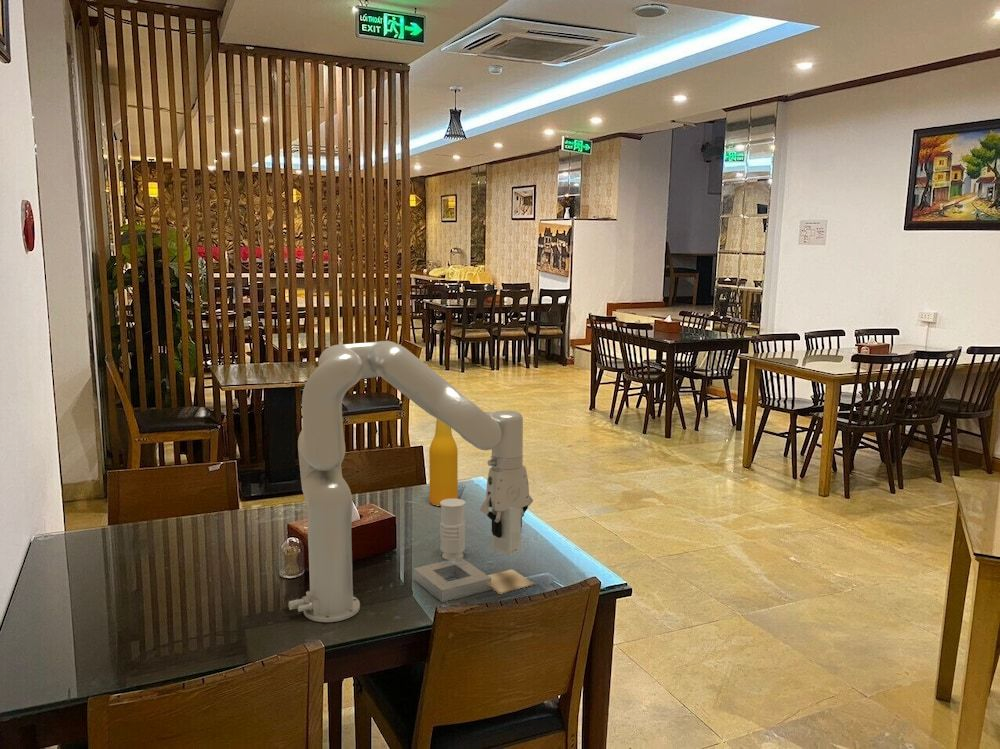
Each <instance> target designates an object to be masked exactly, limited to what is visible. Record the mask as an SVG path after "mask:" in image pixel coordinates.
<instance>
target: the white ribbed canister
mask: <svg viewBox="0 0 1000 749" xmlns="http://www.w3.org/2000/svg"><path fill="white" fill-rule="evenodd" d="M440 505H441V507H440V521H439V534H440V535H439V537H440V547H439V550H440V551H441V552H442V554H441V558H442V559H444V560H446V561H447V560H452V559H456V558H463V559H464V556H465V555H464V551H465V550H466V542H465V538H466V520H465V506H466V501H465V500H464V499H461V498H458V499H445V500H442V501H441V502H440Z"/></svg>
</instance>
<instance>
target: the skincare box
mask: <svg viewBox="0 0 1000 749" xmlns="http://www.w3.org/2000/svg"><path fill="white" fill-rule="evenodd" d="M499 521H500V522H501V523H502V536H501V538H498V537H496V536H494V535H493V534H492V550H493V551H497V552H500V553H502V554H505V555H508V556H512V555H514V554H516V553H519V552H521V551H522V528H521V508H515V507H510V508H508V510H507V511H502V512H501V516H500V520H499Z"/></svg>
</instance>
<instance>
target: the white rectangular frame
mask: <svg viewBox="0 0 1000 749" xmlns="http://www.w3.org/2000/svg"><path fill="white" fill-rule="evenodd" d="M488 575H489V574H488ZM488 575H487V573H485V572H483V571H482V570H480V569H479V568H477V567H476V566H475V565H473V564H471V563H470V562H469V561H467V560H466V559H464V557H463V558H456V559H452V560H447V559H446V560H444V561H440V562H435V563H431V564H426V565H422V566H417V567H413V580H414V581H415V582H416V583H417V584H418V585H420V586H421V587H422V586H423V587H424V588H423V587H422V588H423V589H424V590H426V591H427V592H428V593H430V594H431V595H432V596H433V595H434V596H433V597H434V598H436V599H437V600H438V599H439V600H440V602H441V603H444V602H443V601H446V602H449V601H448V600H450V601H453V599H454V600H457V599H461V598H464V597H468V596H472V595H476V594H480V593H483V592H487V591H491V590H492V589H491V577H489V576H488ZM454 577H457V578H456V579H454V580H450V581H448V580H446V579H448V578H454ZM439 600H438V601H439Z"/></svg>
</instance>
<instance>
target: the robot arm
mask: <svg viewBox="0 0 1000 749" xmlns="http://www.w3.org/2000/svg"><path fill="white" fill-rule="evenodd" d="M377 377H379V378H380V377H381V378H382V379H383V380H384V381H386V382H387V383H388V384H390V385H391V386H392V387H394V388H395V389H396V390H397V391H398V392H400V393H401V394H402V395H404V396H405V397H406V398H408V400H410V401H411V402H413V403H414V404H415V405H416V406H418V408H420V409H422V410H423V411H424V412H426V413H427V414H429V415H430V416H432V417H434V418H436V420H437V419H439V420H441V421H442V422H444V423H445V424H447V425H448V426H449V427H451V430H454V431H455V432H456V433H458V435H459V436H460V437H461V438H462V439H463V440H465V441H466V442H467V443H469V444H470V445H472V446H473V447H475V448H476V449H478V450H480V451H491V456H490V458H491V459H490V460H487V465H488V466H489V467H490V466H491V467H490V468H489V470H488V474H487V479H486V480H487V481H486V488H485V489H486V491H485V492H486V493H485V500H484V502H483V503H482V505H481V506H480V507H479V511H480V512H481V513H482V514H484V515H486V517H488V518H489V520H491V535H492V536H493V535H494V536H496V537H498V538H501V536H502V523H501V522H500V521H499V520H500V516H501V512H502V511H507V510H508V508H510V507H515V508H521V529H522V527H523V518H524V516H525V513H526V511H527V510H528V509H529V507H530V506H531V505H532V503H533V502H534V499H533V498H532V497H531V495H530V489H529V488H530V487H529V477H528V472H527V468H526V466H525V465H524V464H523V462H524V460H523V452H524V451H523V449H524V448H523V447H524V446H523V445H524V442H523V441H524V438H523V437H524V435H523V434H524V429H523V428H524V427H523V426H524V421H523V420H524V417H523V415H522V413H521V412H518V411H515V410H499V411H494V412H491V411H490V412H489V411H484V410H483V409H481V408H480V407H479V406H477V404H475V403H474V402H472V401H471V400H470V399H469V398H467V397H466V396H465V395H464V394H463V393H462V392H460V391H459V390H458V389H457V388H456V387H454V385H452V384H451V383H450V382H448V381H447V380H446V379H445V378H444V377H442V376H441V375H440V374H439V373H437V371H435V370H433V369H432V368H431V367H430V366H428V365H427V364H426V363H425V362H423V361H422V360H421V359H420V358H418V357H417V356H416V355H415V354H413V353H412V352H411V351H410V350H409V349H407V348H406V347H405V346H403V345H401V344H398V343H397V342H394V341H392V340H391V341H389V340H379V341H370V342H369V341H368V342H356V343H354V342H353V343H344V344H343V343H342V344H334V345H331V346H329V347H327V348H325V349H324V350H322V352H321V354H320V356H319V358H318V366H317V367H316V368H315V369H314V370H313V372H312V373H311V374H310V376H309V377H308V379H307V381H306V382H305V385H304V388H303V390H302V394H301V412H302V413H301V414H302V429H301V431H300V432H299V436H298V440H297V451H298V463H299V471H300V473H299V476H300V483H301V491H302V493H303V497H304V499H305V501H306V504H307V505H306V506H307V513H308V514H307V542H308V543H307V547H308V570H309V571H308V572H309V590H307V591H306V592H305V596H302V598H299V599H294V600H288V608H289V610H290V611H291V610H295V609H297V611H298V613H301V612H303V614H304V615H303V616H305V617H306V619H309V620H311V621H313V622H319V623H334V622H335V623H337V622H341V621H344V620H348V619H349V618H352V617H354V616H355V615H356V614H358V613H359V611H360V609H361V602H360V600H359V599H358V598H357V597H356V596H354V590H353V589H354V586H353V584H354V583H353V582H354V581H353V550H352V548H353V547H352V546H353V544H352V518H353V506H354V505H353V504H354V503H353V495H352V492H351V491H352V490H351V489H350V486H349V484H348V483H347V482H346V480H345V479H344V477H343V472H342V463H343V461H344V459H345V455H346V442H345V435H344V425H343V422H344V421H343V400H344V397H345V395H346V394H347V392H348V391H349V390H350V389H352V387H354V386H355V385H357V383H358V382H360V380H361V379H371V378H377ZM490 508H491V510H489V509H490Z"/></svg>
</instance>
